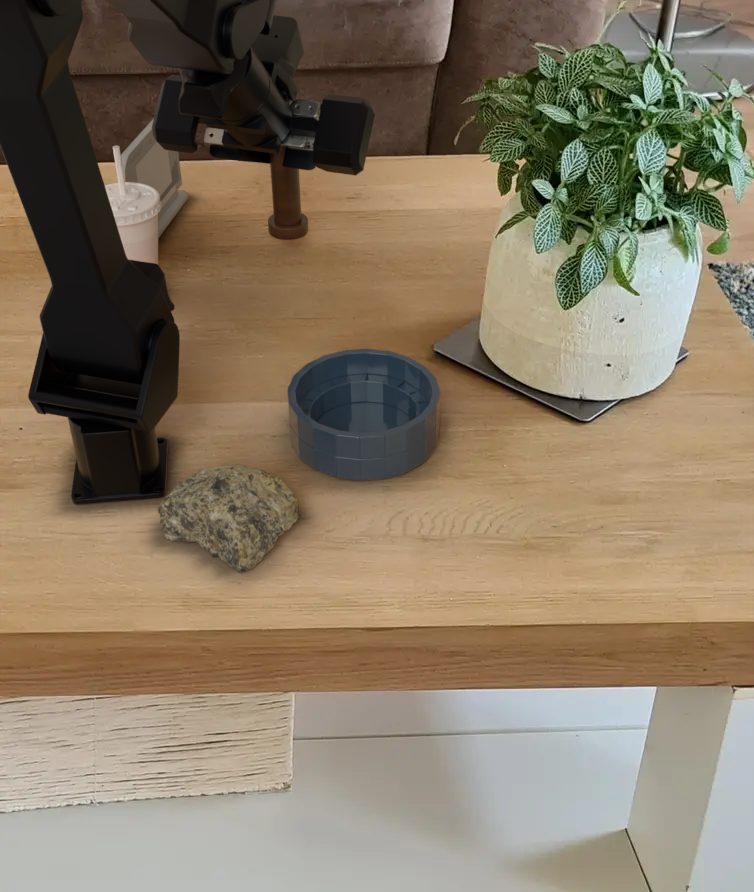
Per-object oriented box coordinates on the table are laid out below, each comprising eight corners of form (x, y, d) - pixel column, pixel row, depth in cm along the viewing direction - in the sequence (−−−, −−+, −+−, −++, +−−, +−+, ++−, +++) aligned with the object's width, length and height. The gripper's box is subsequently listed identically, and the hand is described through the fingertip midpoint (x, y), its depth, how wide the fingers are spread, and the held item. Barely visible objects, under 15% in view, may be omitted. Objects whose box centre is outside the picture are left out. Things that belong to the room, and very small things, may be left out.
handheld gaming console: (104, 191, 120) (88, 97, 114) (189, 200, 120) (178, 105, 113) (50, 252, 110) (30, 153, 104) (143, 262, 109) (128, 162, 103)
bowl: (448, 479, 86) (450, 430, 83) (295, 491, 84) (292, 442, 81) (426, 390, 94) (427, 344, 91) (287, 400, 93) (283, 353, 90)
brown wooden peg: (309, 239, 110) (303, 111, 103) (269, 241, 110) (259, 112, 102) (307, 220, 113) (300, 94, 106) (267, 222, 113) (258, 96, 105)
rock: (227, 481, 85) (221, 431, 82) (312, 522, 81) (310, 472, 79) (157, 536, 80) (149, 485, 77) (245, 582, 77) (240, 531, 74)
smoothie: (182, 281, 107) (163, 136, 98) (161, 318, 102) (140, 169, 93) (113, 276, 107) (88, 131, 98) (90, 313, 102) (61, 163, 93)
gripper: (366, 5, 93) (403, 90, 108) (148, -19, 96) (214, 67, 111) (339, 138, 91) (379, 205, 107) (119, 109, 95) (189, 179, 110)
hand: (289, 160), depth 109 cm, fingers closed on brown wooden peg, 2 cm apart
